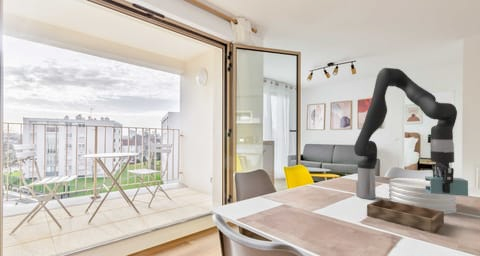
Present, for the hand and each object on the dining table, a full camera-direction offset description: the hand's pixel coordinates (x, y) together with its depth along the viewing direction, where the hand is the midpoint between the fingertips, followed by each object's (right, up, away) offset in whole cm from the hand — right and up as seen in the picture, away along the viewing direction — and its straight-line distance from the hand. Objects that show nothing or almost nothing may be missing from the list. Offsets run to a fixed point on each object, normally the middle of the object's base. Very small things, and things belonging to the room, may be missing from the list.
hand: (442, 190), depth 98 cm
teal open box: (+7, +2, -3) cm, 7 cm away
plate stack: (+11, -15, +27) cm, 33 cm away
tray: (-13, -14, +5) cm, 19 cm away
